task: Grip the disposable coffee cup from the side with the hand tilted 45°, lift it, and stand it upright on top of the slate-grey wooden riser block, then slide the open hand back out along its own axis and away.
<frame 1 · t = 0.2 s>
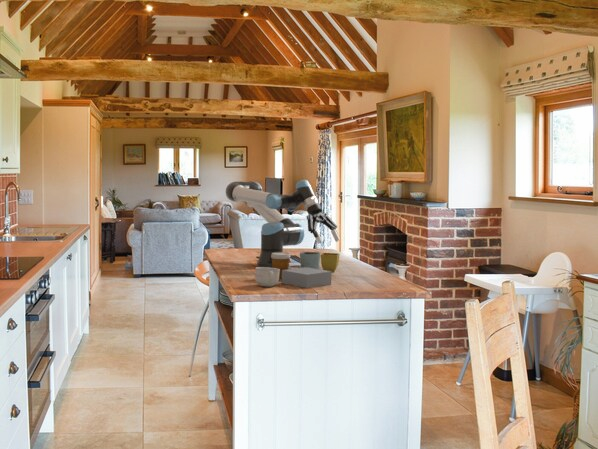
hand: (329, 241, 340), 15 cm above the table, tool tilted 35°, fingers open, 13 cm apart
teacup: (267, 286, 290), on the table
flower pot: (329, 271, 340), on the table
grey-green cup: (309, 277, 319), on the table
disposable coffee cup: (280, 278, 313), on the table
riser block: (306, 283, 300), on the table
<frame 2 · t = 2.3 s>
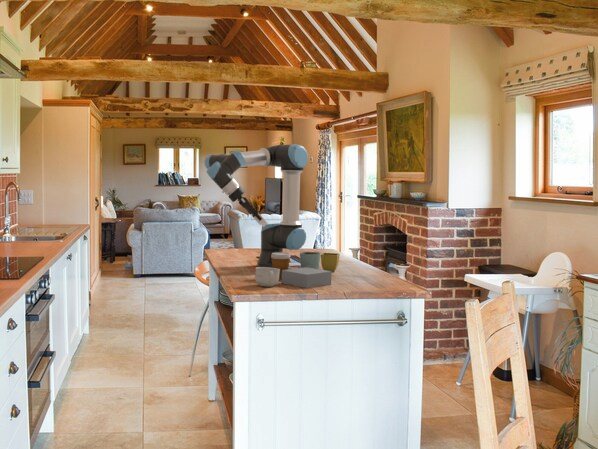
hand: (263, 224, 310), 26 cm above the table, tool tilted 45°, fingers open, 13 cm apart
nothing on the table moved.
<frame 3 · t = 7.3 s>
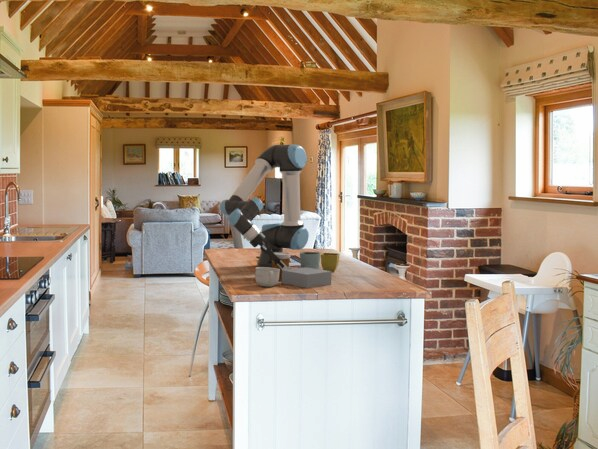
hand: (287, 270, 313), 4 cm above the table, tool tilted 45°, fingers closed on disposable coffee cup, 9 cm apart
disposable coffee cup: (280, 278, 313), on the table, touching gripper
everything else where it was.
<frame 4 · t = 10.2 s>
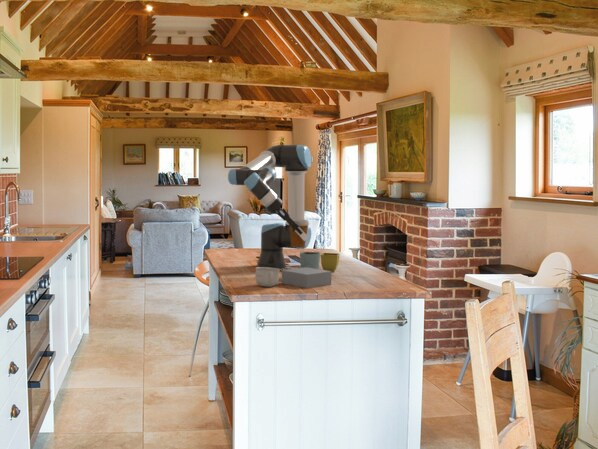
hand: (305, 238, 300), 21 cm above the table, tool tilted 45°, fingers closed on disposable coffee cup, 9 cm apart
disposable coffee cup: (297, 246, 300), point 17 cm above the table, touching gripper
everything else where it was.
when the fingers open (11 cm above the table, at t = 13.4 s): disposable coffee cup moves 4 cm, resting on riser block.
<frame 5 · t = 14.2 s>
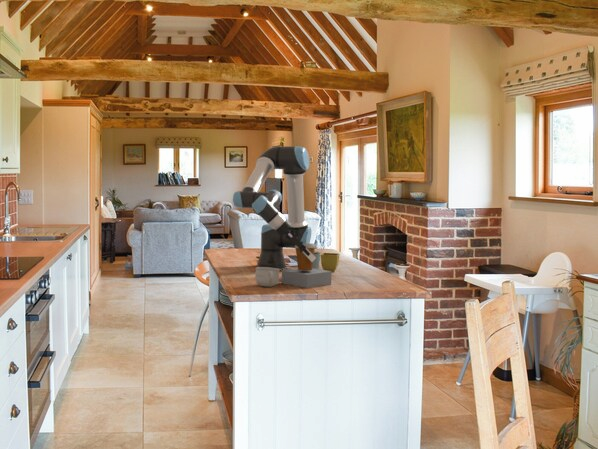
hand: (312, 258, 299), 12 cm above the table, tool tilted 45°, fingers open, 13 cm apart
disposable coffee cup: (305, 271, 295), point 6 cm above the table, touching gripper, riser block
everything else where it was.
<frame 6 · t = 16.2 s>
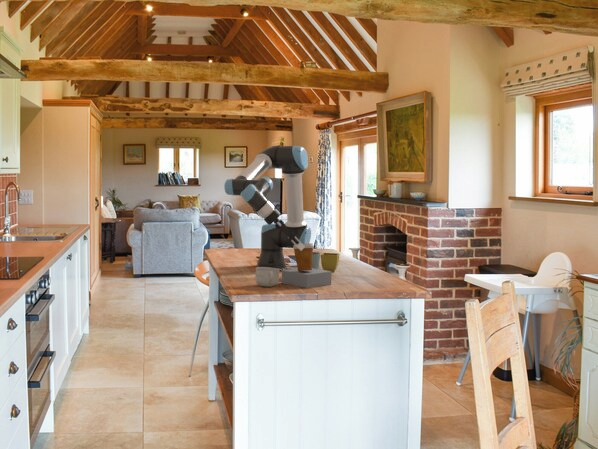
hand: (301, 247, 298), 17 cm above the table, tool tilted 45°, fingers open, 13 cm apart
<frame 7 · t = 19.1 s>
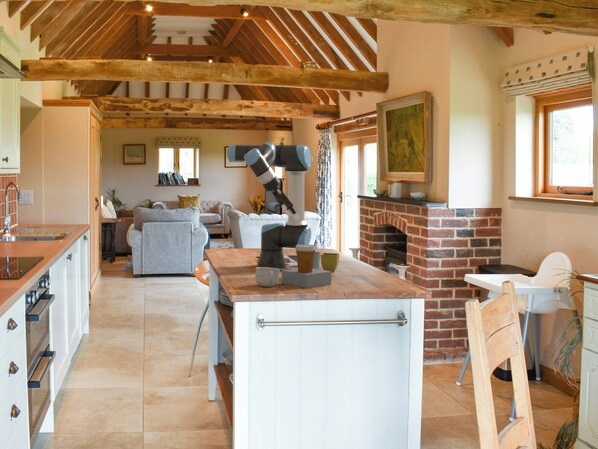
hand: (294, 217, 303), 30 cm above the table, tool tilted 35°, fingers open, 13 cm apart
disposable coffee cup: (305, 272, 295), point 6 cm above the table, touching riser block
everything else where it was.
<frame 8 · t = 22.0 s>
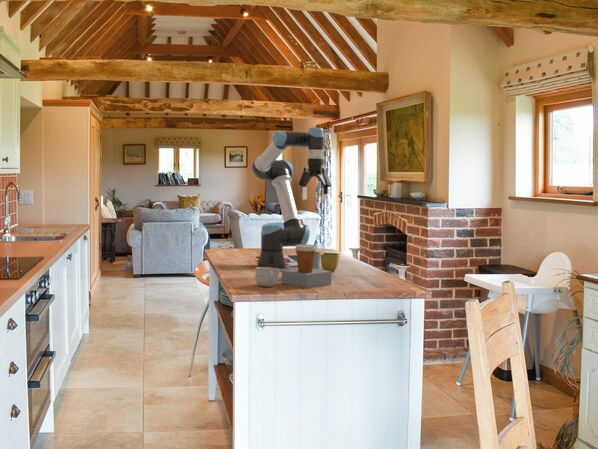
hand: (314, 200, 335), 37 cm above the table, tool pointing down, fingers open, 13 cm apart
nothing on the table moved.
at the end: disposable coffee cup inside the target area on the riser block (4.0 cm from its centre), point 5.8 cm above the riser block's base; disposable coffee cup tilted 0°; disposable coffee cup touching riser block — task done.
